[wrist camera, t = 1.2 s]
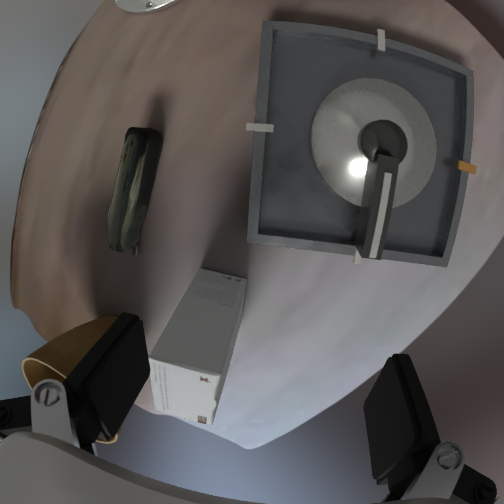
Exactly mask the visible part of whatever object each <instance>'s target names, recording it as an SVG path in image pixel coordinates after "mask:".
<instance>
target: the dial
mask: <svg viewBox="0 0 504 504" xmlns="http://www.w3.org/2000/svg"><path fill="white" fill-rule="evenodd" d="M310 144H311V151H312V155H313V159H314V161H315V164H316V166H317V168H318V170H319V172H320V174H321V175H322V177H323V178H324V180H325V181H326V182H327V183H328V184H329V186H330V187H331V188H332V189H333V190H334V191H335V192H336V193H337V194H339V195H340V196H341V197H343V198H344V199H345V200H347V201H349V202H351V203H353V204H355V205H358V206H360V207H361V208H360V214H359V220H358V226H357V231H356V236H355V242H354V245H355V247H356V249H357V251H358V252H359V254H360V256H361V258H369V259H377V260H381V257H382V253H383V249H384V245H385V240H386V236H387V231H388V226H389V221H390V216H391V211H392V208H395V207H398V206H401V205H403V204H405V203H407V202H408V201H410V200H411V199H413V198H414V197H415V196H416V195H418V194H419V193H420V192H421V190H422V189H423V188H424V187H425V185H426V184H427V182H428V181H429V179H430V176H431V174H432V172H433V169H434V165H435V160H436V138H435V133H434V129H433V126H432V123H431V121H430V119H429V117H428V115H427V113H426V111H425V110H424V108H423V107H422V106H421V104H420V103H419V102H418V101H417V100H416V99H415V98H414V97H413V96H412V95H411V94H410V93H409V92H407V91H406V90H405V89H403V88H401V87H400V86H398V85H396V84H394V83H391V82H388V81H385V80H381V79H375V78H363V79H356V80H352V81H349V82H347V83H344V84H342V85H341V86H339V87H337V88H336V89H334V90H333V91H332V92H331V93H330V94H329V95H328V96H327V97H326V98H325V99H324V101H323V102H322V103H321V105H320V106H319V108H318V109H317V111H316V114H315V116H314V119H313V122H312V126H311V132H310Z"/></svg>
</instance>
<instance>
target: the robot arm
mask: <svg viewBox="0 0 504 504" xmlns="http://www.w3.org/2000/svg"><path fill="white" fill-rule="evenodd" d="M179 1H181V0H114V2H115V3H116V4H117V6H118V7H120V8H121V9H123V10H124V11H127V12H129V13H134V14H146V13H152V12H156V11H159V10H162V9H165V8H167V7H169V6H172V5H174V4H176V3H177V2H179ZM149 375H150V363H149V358H148V353H147V347H146V341H145V335H144V328H143V322H142V320H139V317H138V316H137V315H134V314H130V313H126V312H123V313H122V314H121V315H120V316H119V317H118V318H117V320H116V321H115V322H114V323H113V324H112V325H111V326H110V327H109V329H108V330H107V331H106V332H105V333H104V334H103V335H102V337H101V338H100V339H99V340H98V341H97V342H96V343H95V344H94V345H93V347H92V348H91V349H90V350H89V351H88V353H87V354H86V355H85V356H84V357H83V358H82V360H81V361H80V362H79V363H78V364H77V366H76V367H75V368H74V369H73V371H72V372H71V373H70V374H69V375H68V377H67V378H66V379H65V380H64V382H63V383H60V382H59V381H57V380H54V379H46V380H42V381H40V382H38V383H37V384H36V385H35V386H34V387H33V389H32V392H31V395H30V396H24V397H18V398H13V399H6V400H0V504H264V503H254V502H248V501H240V500H235V499H229V498H223V497H218V496H213V495H209V494H204V493H200V492H196V491H192V490H188V489H184V488H180V487H177V486H174V485H170V484H167V483H164V482H161V481H158V480H155V479H151V478H149V477H146V476H143V475H141V474H138V473H135V472H133V471H130V470H128V469H125V468H123V467H120V466H118V465H115V464H113V463H111V462H108V461H106V460H104V459H102V458H99V457H98V455H97V451H96V447H95V444H94V443H95V441H96V439H97V438H100V439H102V440H104V441H107V442H108V441H109V439H110V437H114V436H115V435H116V434H117V432H118V430H119V428H120V427H121V425H122V423H123V421H124V419H125V418H126V416H127V414H128V412H129V410H130V408H131V407H132V405H133V403H134V402H135V400H136V398H137V396H138V395H139V393H140V391H141V389H142V388H143V386H144V384H145V382H146V381H147V379H148V377H149ZM364 414H365V421H366V427H367V434H368V441H369V448H370V457H371V466H372V475H373V478H374V479H376V480H377V485H384V484H388V487H389V491H388V493H387V494H386V495H385V497H384V498H383V499H382V501H381V502H380V503H373V504H504V501H503V500H502V499H501V498H500V497H498V498H496V495H497V489H496V485H495V483H494V482H493V481H492V480H491V479H489V478H487V477H486V476H484V475H482V474H481V473H479V472H477V471H475V470H474V469H472V468H471V467H468V466H467V465H466V464H464V463H465V453H464V451H463V449H462V448H461V447H460V446H459V445H458V444H457V443H454V442H452V441H445V442H440V438H439V435H438V432H437V429H436V425H435V422H434V419H433V416H432V414H431V411H430V408H429V405H428V402H427V399H426V396H425V393H424V391H423V389H422V386H421V384H420V381H419V378H418V376H417V373H416V371H415V368H414V366H413V363H412V361H411V358H410V356H409V355H408V354H393V355H392V357H389V358H388V359H387V361H386V363H385V365H384V367H383V369H382V371H381V373H380V375H379V377H378V379H377V381H376V382H375V384H374V386H373V388H372V390H371V392H370V393H369V395H368V397H367V399H366V400H365V403H364Z"/></svg>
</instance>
